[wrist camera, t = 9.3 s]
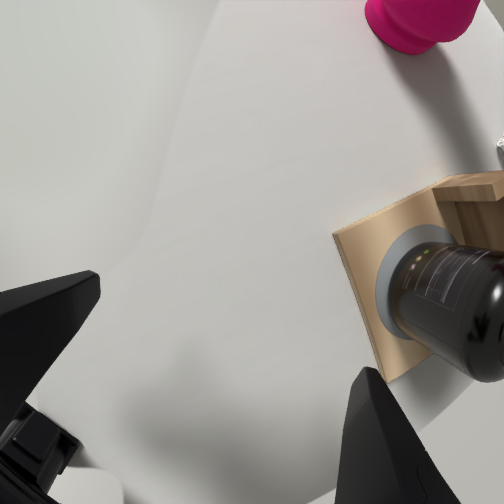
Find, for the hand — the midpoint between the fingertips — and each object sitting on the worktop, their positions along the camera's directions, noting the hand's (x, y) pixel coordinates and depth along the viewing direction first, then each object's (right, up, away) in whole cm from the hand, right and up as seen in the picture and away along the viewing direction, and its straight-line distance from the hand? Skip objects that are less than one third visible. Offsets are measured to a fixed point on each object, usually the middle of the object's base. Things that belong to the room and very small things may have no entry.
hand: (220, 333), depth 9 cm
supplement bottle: (+13, 0, +11) cm, 17 cm away
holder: (+13, 0, +11) cm, 17 cm away
